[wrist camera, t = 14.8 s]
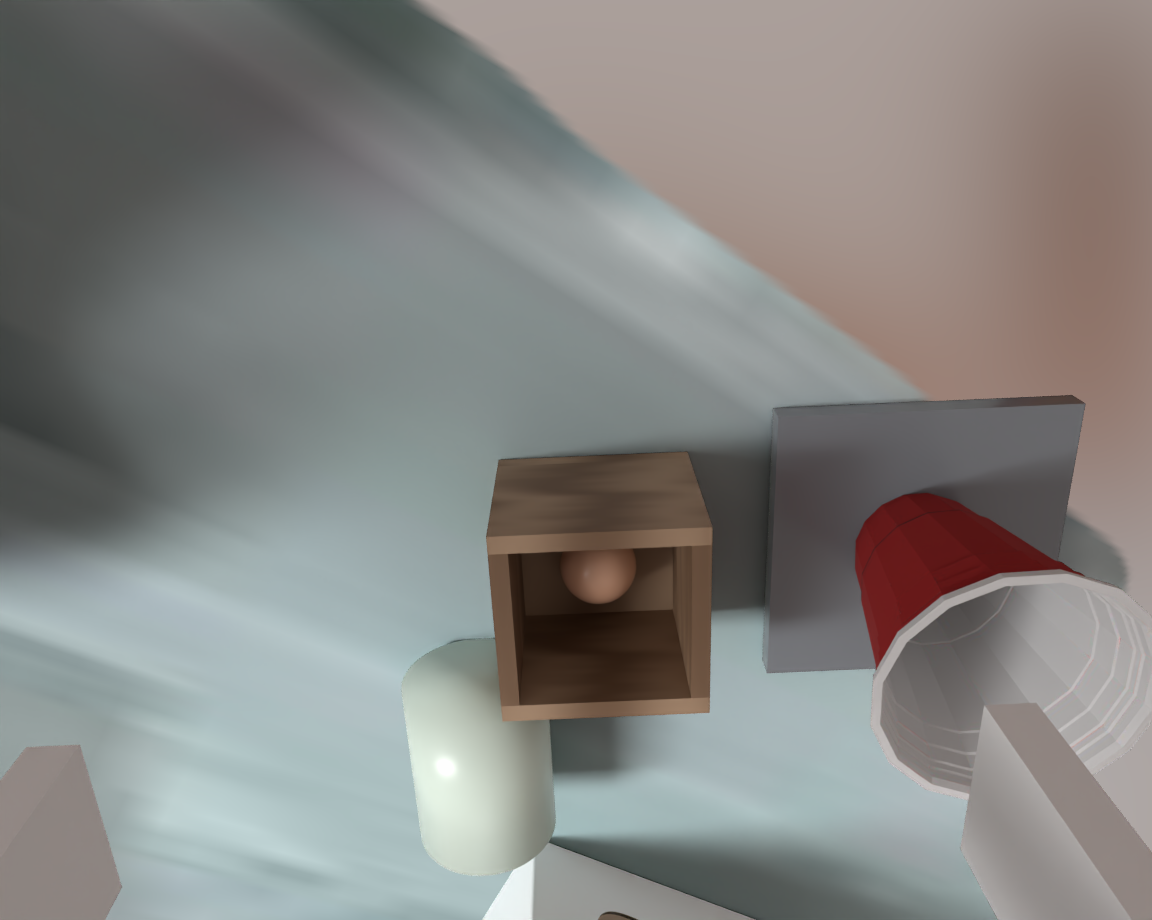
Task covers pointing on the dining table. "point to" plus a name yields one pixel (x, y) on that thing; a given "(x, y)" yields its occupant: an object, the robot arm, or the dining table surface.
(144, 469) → the dining table surface
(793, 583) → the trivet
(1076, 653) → the plastic cup
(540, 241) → the dining table surface
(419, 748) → the pale green capsule
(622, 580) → the clay ball
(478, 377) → the dining table surface
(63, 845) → the robot arm
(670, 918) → the gable box
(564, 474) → the walnut box
